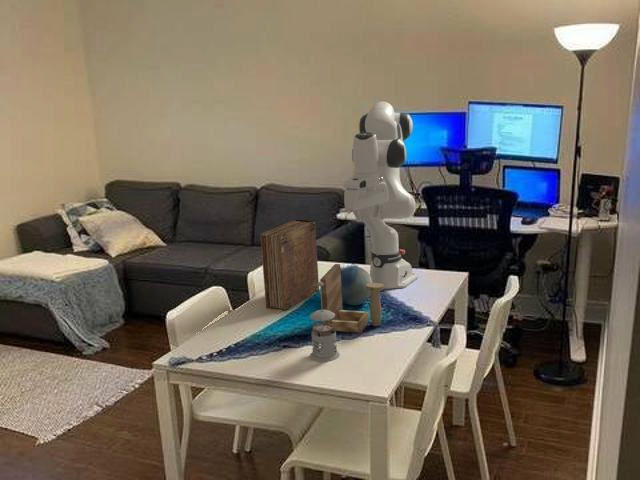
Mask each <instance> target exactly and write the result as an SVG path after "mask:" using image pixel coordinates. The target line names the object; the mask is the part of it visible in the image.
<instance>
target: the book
mask: <svg viewBox="0 0 640 480" xmlns="http://www.w3.org/2000/svg"><path fill="white" fill-rule="evenodd" d="M259 235H260V236H259V237H260V249H261V259H262V260H261V261H262V263H261V264H262V271H263V274H262V275H263V286H264V296H265V297H264V298H265V308H266V309H269V308H274V309H279V310H280V309H281V310H284V311H285V312H287V311H289V310H291V309H292V308H294V307H296V306H297V305H298V304H300V303H302V302H303V301H306V299H309V298H310V297H312V296H313V295H315V294H316V293H318V292H320V286H318V282H320V279H319V267H318V265H319V264H318V263H319V262H318V253H317V252H318V249H317V234H316V222H315V220H306V219H305V220H303V219H294V220H291V221H289V222H287V223H284V224H282V225H279V226H276V227H275V228H272V229H269V230H266V231H265V232H262V233H260V234H259Z"/></svg>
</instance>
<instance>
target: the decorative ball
mask: <svg viewBox="0 0 640 480" xmlns="http://www.w3.org/2000/svg"><path fill="white" fill-rule="evenodd" d="M368 283H373V282H372V279H371V276H370V272H368V271H367V270H366V269H364V268H363V267H359V266H356V265H355V266H353V265H352V266H347V267H345V268H343V269H342V270H341V289H342V303H344V304H347V305H349V306H357V305H361V304H363V303H366V301H368V300H369V298H370V291H369V290H367V289H366V284H368Z"/></svg>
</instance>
